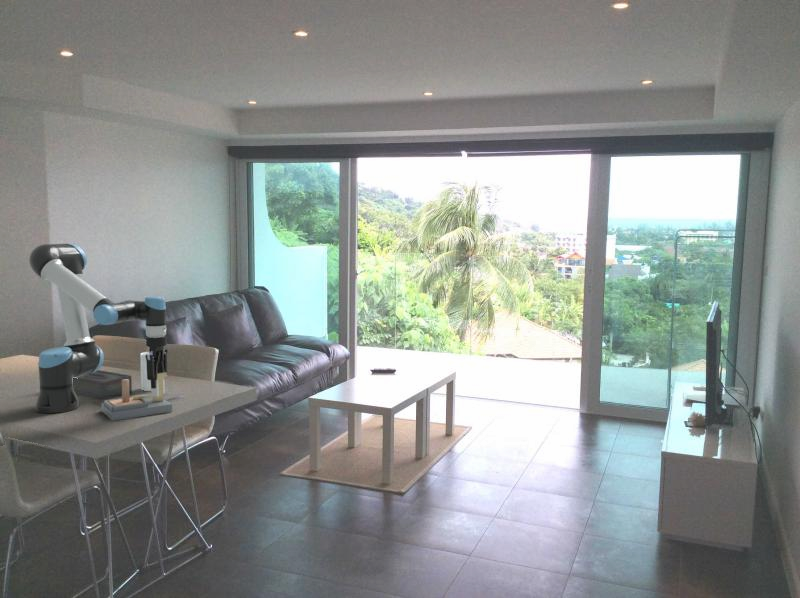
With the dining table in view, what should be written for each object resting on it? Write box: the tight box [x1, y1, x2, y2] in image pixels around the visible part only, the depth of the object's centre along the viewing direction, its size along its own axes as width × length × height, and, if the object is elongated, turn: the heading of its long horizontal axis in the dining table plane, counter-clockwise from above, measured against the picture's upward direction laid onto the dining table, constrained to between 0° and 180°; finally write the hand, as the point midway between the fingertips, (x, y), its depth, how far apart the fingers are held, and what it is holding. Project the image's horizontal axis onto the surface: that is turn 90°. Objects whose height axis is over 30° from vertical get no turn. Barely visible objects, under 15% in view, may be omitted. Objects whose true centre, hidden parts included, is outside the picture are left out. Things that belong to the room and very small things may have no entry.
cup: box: [140, 351, 155, 392], centre depth 298 cm, size 8×8×16 cm
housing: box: [101, 396, 173, 422], centre depth 261 cm, size 22×16×4 cm
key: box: [132, 372, 168, 402], centre depth 264 cm, size 12×2×11 cm, turn 116°
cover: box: [109, 378, 143, 407], centre depth 258 cm, size 10×10×10 cm
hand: (157, 394), depth 266 cm, fingers closed on key, 4 cm apart
